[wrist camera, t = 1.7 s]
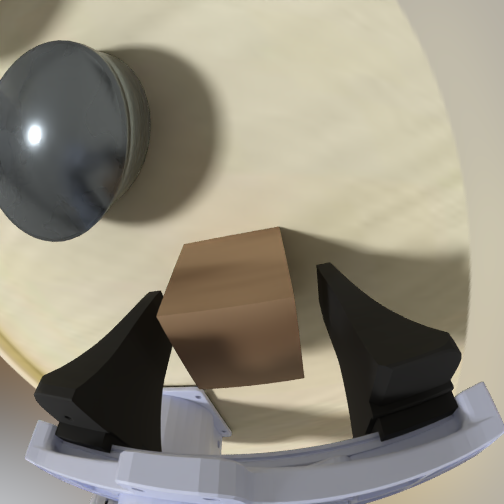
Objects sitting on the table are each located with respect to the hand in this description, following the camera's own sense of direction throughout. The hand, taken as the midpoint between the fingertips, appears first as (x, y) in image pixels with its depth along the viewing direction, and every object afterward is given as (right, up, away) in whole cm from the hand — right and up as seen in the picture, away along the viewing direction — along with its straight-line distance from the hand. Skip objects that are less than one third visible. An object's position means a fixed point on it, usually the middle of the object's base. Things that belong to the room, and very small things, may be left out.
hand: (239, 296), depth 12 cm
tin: (-8, +7, -2) cm, 11 cm away
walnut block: (0, +1, +2) cm, 2 cm away
